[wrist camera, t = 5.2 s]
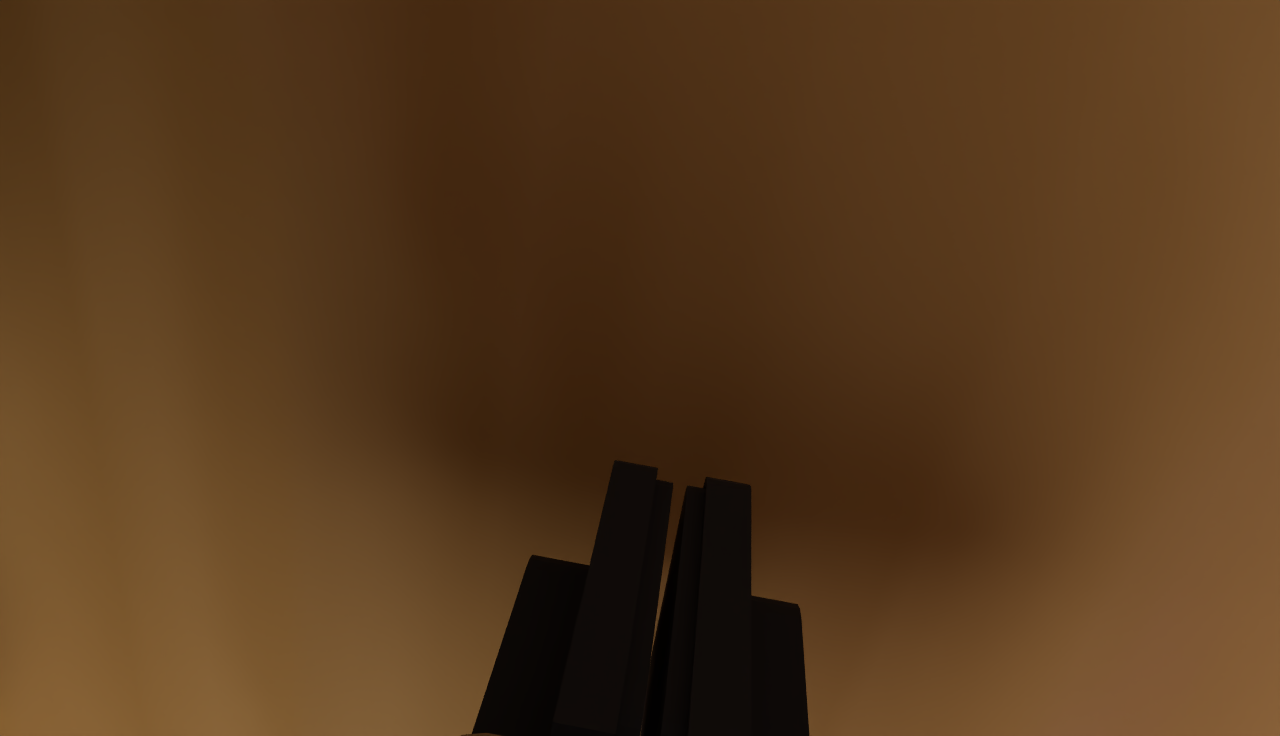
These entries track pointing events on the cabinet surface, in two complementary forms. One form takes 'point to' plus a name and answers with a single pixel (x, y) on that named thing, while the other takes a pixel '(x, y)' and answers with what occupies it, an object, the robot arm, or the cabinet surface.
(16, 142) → the cabinet surface
